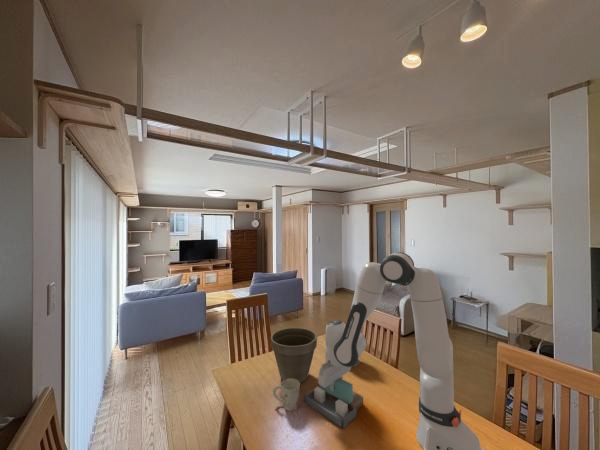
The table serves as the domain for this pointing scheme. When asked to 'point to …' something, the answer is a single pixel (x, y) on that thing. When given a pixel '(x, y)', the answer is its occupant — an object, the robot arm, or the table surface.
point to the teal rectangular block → (341, 390)
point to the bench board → (355, 403)
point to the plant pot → (294, 352)
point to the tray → (329, 410)
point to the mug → (289, 393)
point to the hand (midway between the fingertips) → (335, 387)
